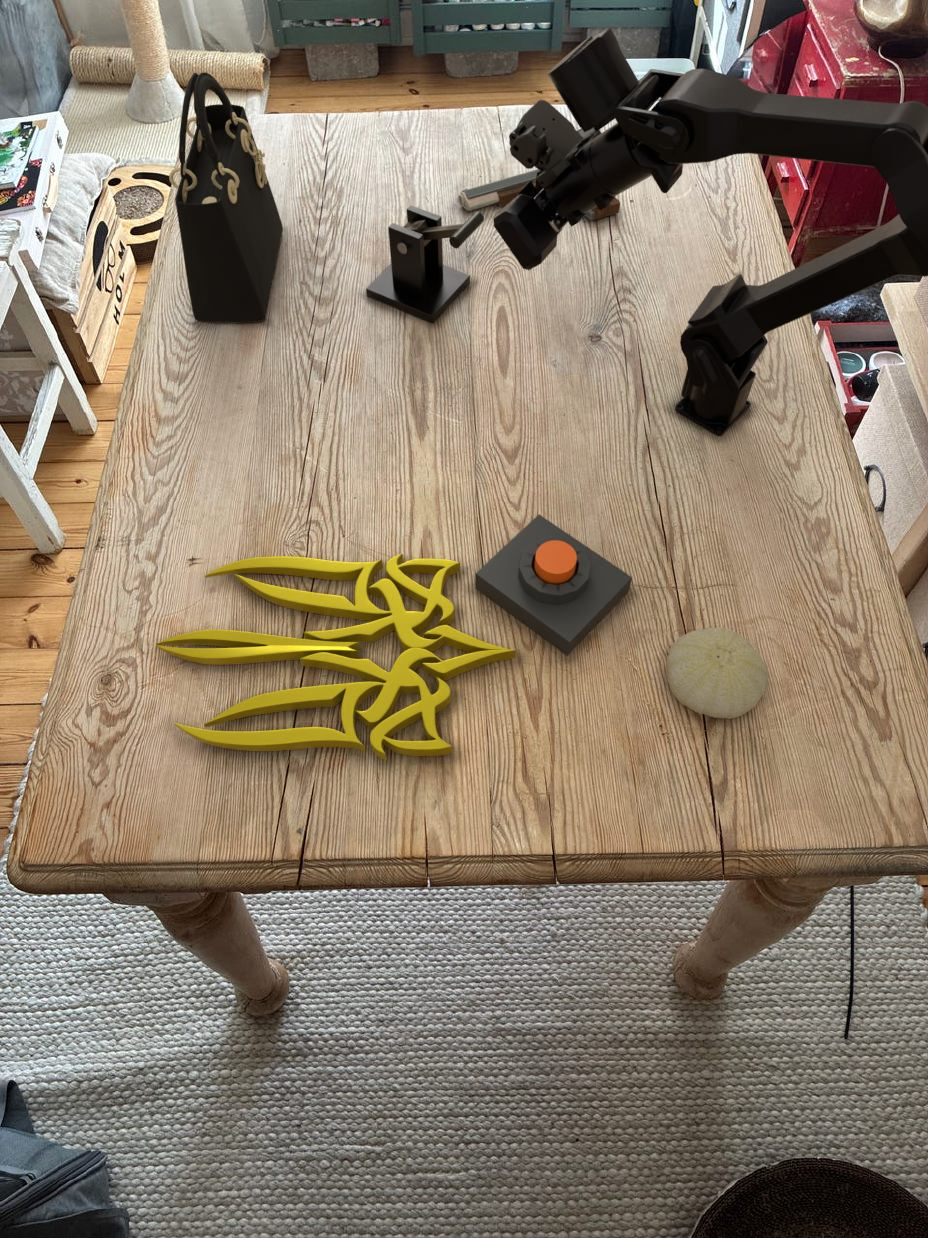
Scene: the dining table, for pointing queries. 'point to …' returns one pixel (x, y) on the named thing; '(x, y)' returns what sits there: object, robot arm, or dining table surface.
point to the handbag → (225, 211)
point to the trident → (344, 655)
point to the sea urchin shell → (716, 672)
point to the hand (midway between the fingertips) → (508, 226)
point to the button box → (552, 587)
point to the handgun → (509, 190)
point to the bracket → (417, 272)
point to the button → (555, 562)
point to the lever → (447, 230)
